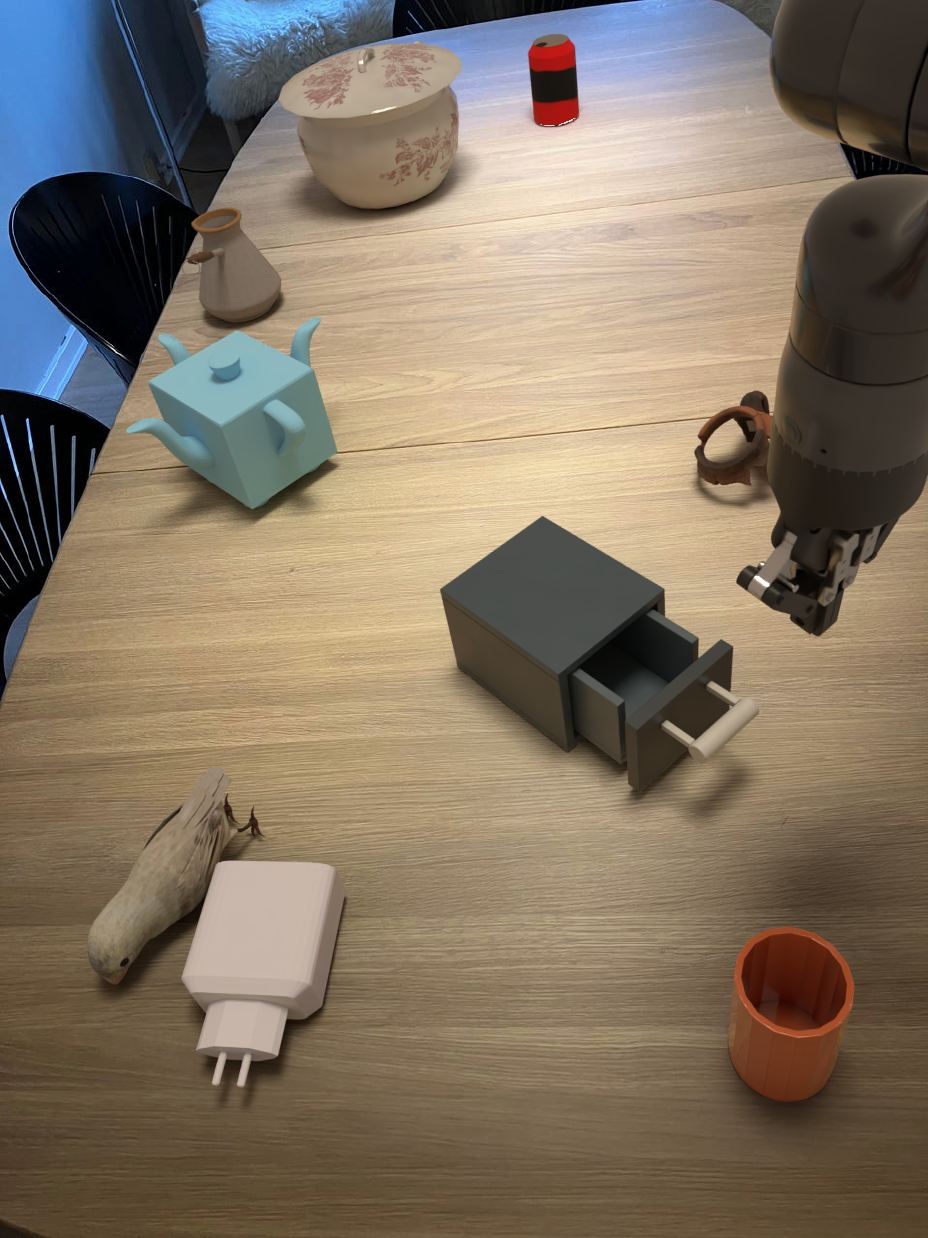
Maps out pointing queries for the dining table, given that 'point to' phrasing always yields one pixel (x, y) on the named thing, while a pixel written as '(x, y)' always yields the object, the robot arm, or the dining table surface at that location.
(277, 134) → the dining table surface
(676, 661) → the drawer
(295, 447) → the teakettle
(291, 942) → the charger
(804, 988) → the cup
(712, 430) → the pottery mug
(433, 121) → the chamber pot
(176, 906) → the decorative bird
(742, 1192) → the dining table surface
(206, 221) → the coffee pot
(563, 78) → the soda can
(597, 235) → the dining table surface
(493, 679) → the cabinet
